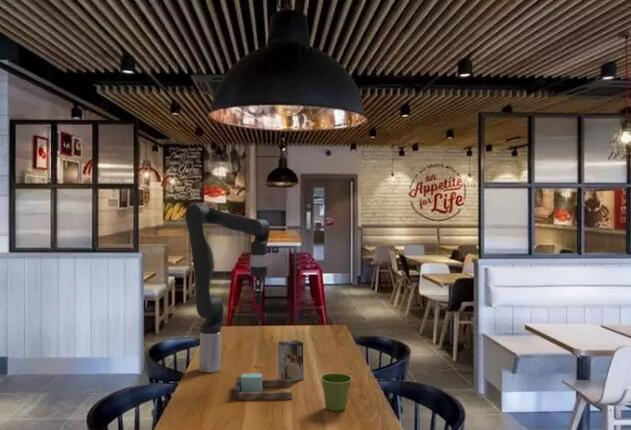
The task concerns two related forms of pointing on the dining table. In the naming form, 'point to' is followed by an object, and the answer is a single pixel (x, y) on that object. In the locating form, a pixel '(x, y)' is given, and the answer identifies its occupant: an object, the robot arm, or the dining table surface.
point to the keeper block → (251, 383)
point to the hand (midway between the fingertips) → (258, 302)
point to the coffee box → (290, 360)
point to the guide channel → (263, 395)
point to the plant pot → (336, 390)
